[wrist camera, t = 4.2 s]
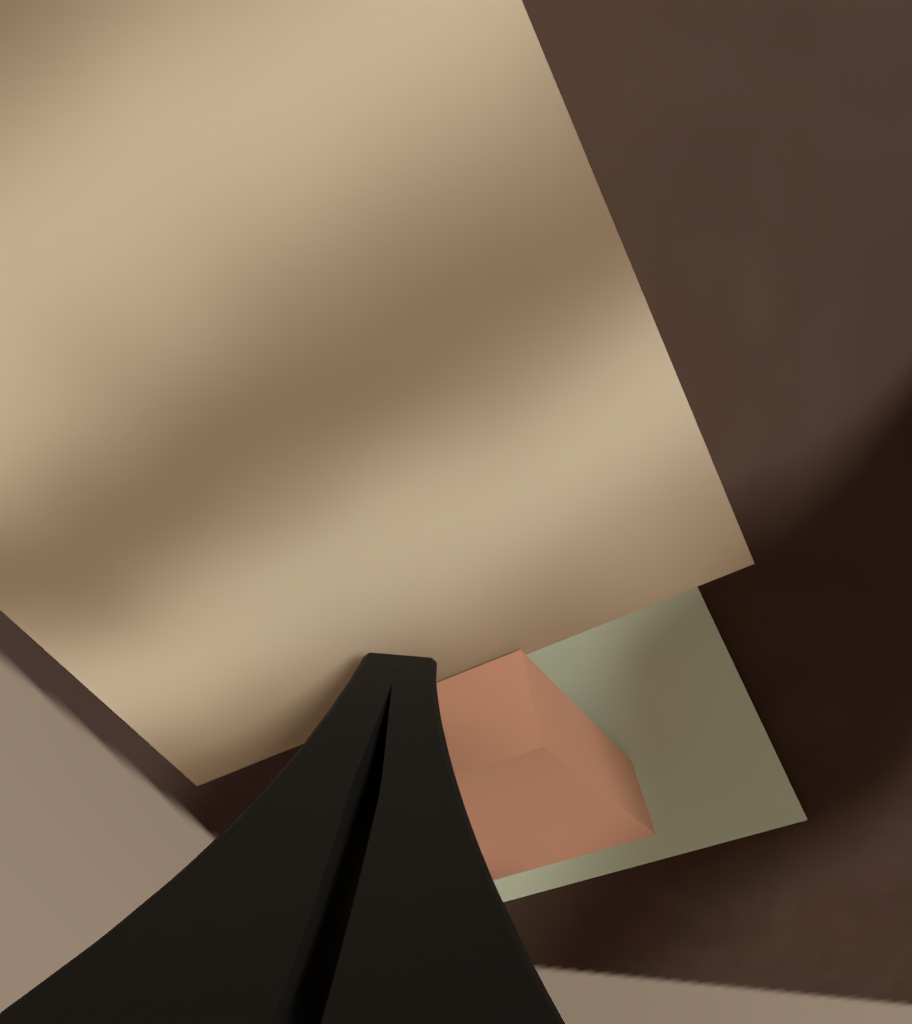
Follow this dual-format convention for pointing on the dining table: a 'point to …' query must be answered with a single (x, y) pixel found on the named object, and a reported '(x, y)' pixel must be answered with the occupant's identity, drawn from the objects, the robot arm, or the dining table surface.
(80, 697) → the dining table surface
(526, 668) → the tile
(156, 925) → the robot arm
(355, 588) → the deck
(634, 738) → the mat
